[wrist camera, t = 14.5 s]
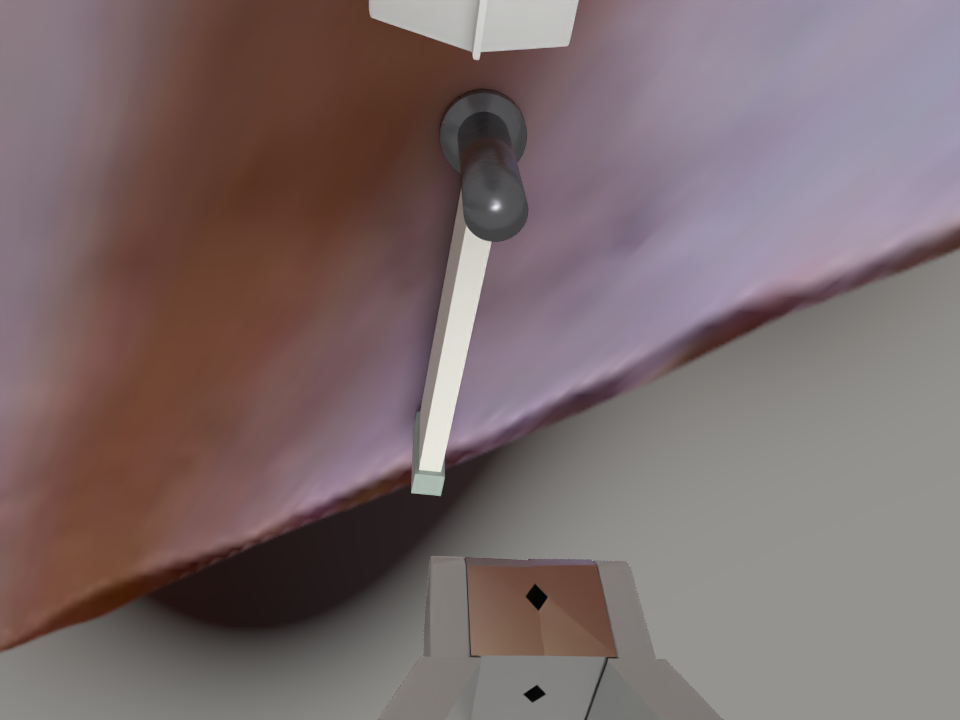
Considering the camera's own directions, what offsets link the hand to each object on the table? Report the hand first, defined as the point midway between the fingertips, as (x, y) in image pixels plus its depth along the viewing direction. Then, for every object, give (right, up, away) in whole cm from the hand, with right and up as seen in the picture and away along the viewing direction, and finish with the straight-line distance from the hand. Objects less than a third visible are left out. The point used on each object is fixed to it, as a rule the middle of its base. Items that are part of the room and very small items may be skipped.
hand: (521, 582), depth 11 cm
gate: (-3, +6, +37) cm, 38 cm away
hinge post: (0, +17, +31) cm, 35 cm away
